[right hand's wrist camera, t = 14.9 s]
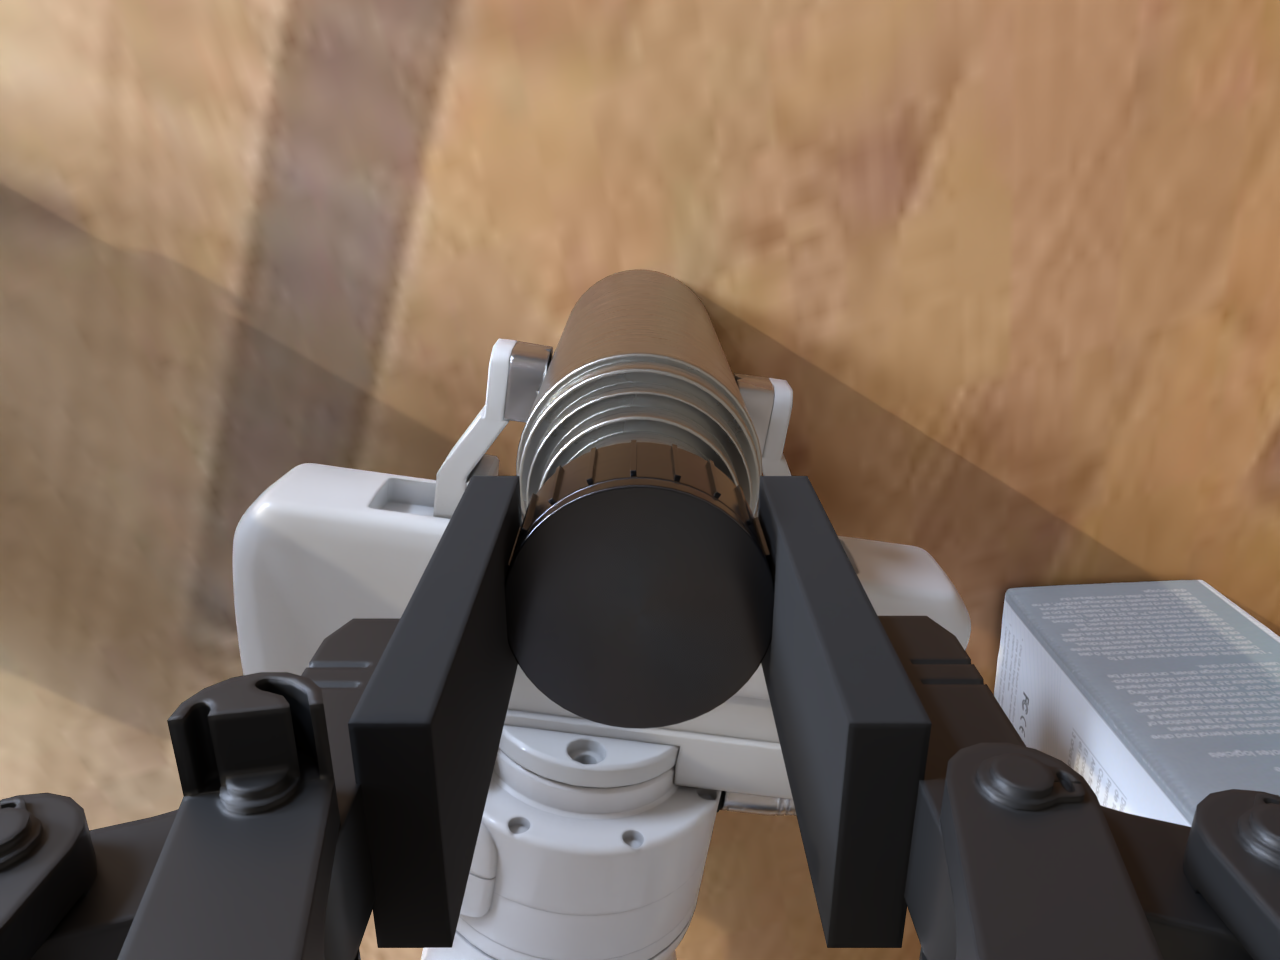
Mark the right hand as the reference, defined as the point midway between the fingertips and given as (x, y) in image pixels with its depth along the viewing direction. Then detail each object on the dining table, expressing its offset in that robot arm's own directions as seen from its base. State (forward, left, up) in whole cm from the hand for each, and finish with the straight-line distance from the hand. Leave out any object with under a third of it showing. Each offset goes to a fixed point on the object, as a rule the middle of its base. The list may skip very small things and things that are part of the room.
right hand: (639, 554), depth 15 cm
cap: (0, 0, +2) cm, 2 cm away
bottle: (0, 0, -16) cm, 16 cm away
